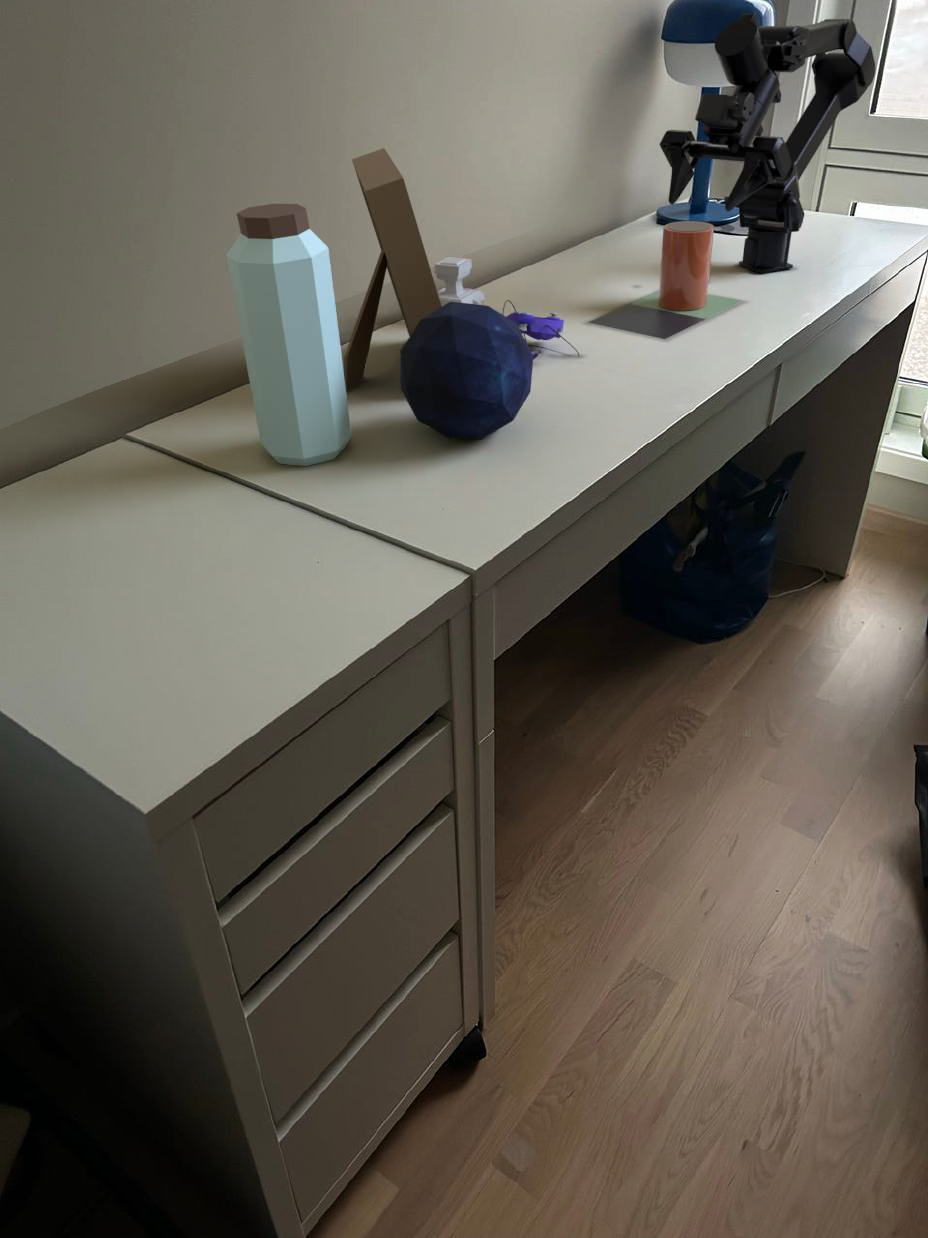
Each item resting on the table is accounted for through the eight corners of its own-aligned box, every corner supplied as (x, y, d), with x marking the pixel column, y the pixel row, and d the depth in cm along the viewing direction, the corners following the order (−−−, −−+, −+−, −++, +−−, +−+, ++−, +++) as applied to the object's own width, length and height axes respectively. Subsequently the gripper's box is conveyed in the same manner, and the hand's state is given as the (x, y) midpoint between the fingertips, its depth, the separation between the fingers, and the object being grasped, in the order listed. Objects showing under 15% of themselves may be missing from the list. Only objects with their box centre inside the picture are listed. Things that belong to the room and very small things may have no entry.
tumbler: (674, 294, 146) (680, 218, 139) (715, 302, 142) (723, 224, 135) (648, 306, 141) (653, 228, 135) (690, 314, 137) (697, 234, 131)
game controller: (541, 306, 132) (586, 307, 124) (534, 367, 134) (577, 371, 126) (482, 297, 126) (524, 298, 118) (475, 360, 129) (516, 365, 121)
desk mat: (668, 288, 149) (668, 287, 149) (742, 301, 142) (742, 300, 141) (588, 323, 137) (588, 321, 137) (665, 340, 129) (665, 338, 129)
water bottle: (266, 435, 109) (225, 203, 95) (353, 428, 109) (325, 196, 95) (258, 473, 101) (212, 225, 86) (352, 465, 101) (321, 217, 87)
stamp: (418, 322, 141) (414, 263, 136) (441, 309, 146) (437, 252, 141) (471, 329, 137) (468, 269, 132) (492, 315, 142) (490, 257, 137)
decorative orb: (552, 357, 110) (470, 255, 103) (567, 407, 98) (474, 295, 91) (459, 432, 115) (375, 339, 108) (461, 488, 103) (367, 387, 96)
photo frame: (440, 338, 134) (428, 144, 120) (465, 393, 117) (454, 173, 102) (336, 349, 133) (311, 153, 118) (346, 406, 115) (317, 184, 101)
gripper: (671, 66, 134) (622, 163, 134) (794, 68, 123) (741, 175, 123) (696, 120, 143) (650, 212, 143) (812, 127, 132) (763, 226, 132)
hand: (698, 206), depth 135 cm, fingers open, 9 cm apart
